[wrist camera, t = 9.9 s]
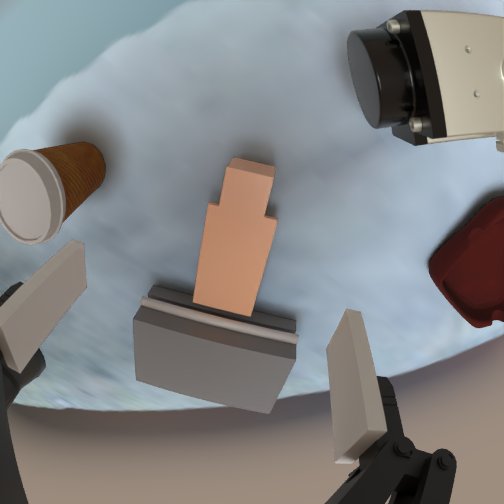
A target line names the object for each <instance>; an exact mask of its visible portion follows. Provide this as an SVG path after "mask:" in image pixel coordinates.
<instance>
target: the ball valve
mask: <svg viewBox="0 0 504 504" xmlns="http://www.w3.org/2000/svg"><path fill="white" fill-rule="evenodd" d="M347 50H348V59H349V66H350V71H351V76H352V80H353V84H354V88H355V91H356V94H357V98H358V101H359V104H360V106H361V109H362V111H363V114H364V116H365V118H366V120H367V121H368V123H369V124H370V125H371V126H372V127H373V128H375V129H380V128H386V127H392V133H393V135H394V136H396V137H398V138H400V139H402V140H404V141H406V142H408V143H410V144H412V145H414V146H417V145H424V144H432V143H440V142H448V141H456V140H465V139H475V138H485V137H496V139H498V140H500V141H496V148H497V150H498V151H500V152H504V17H499V16H492V15H485V14H476V13H466V12H453V11H431V10H404V11H402V12H401V13H399V14H397V15H396V16H394V17H393V18H391V19H389V20H387V21H386V22H385V23H383V24H382V25H380V26H379V27H377V28H376V29H366V30H356V31H352V32H350V34H349V36H348V41H347Z"/></svg>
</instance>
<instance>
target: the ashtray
mask: <svg viewBox="0 0 504 504" xmlns="http://www.w3.org/2000/svg"><path fill="white" fill-rule="evenodd" d="M429 274H430V276H431V278H432V280H433V282H434V283H435V285H436V286H437V287H438V289H439V290H440V291H441V293H442V294H443V295H444V297H445V298H446V299H447V300H448V301H449V303H450V304H451V305H452V306H453V307H454V308H455V309H456V311H457V312H458V313H459V314H460V315H461V316H462V317H463V318H464V319H465V320H466V321H468V322H469V323H470V324H471V325H472V326H474V327H475V328H483V327H487V326H491V325H492V321H494V320H499V321H502V322H504V196H500V197H497V198H495V199H493V200H491V201H490V202H488V203H487V204H486V205H484V206H483V207H482V208H481V209H480V210H479V211H478V213H477V214H476V215H475V216H474V217H473V218H472V219H471V220H470V221H469V222H468V223H467V224H466V225H465V226H464V227H463V228H462V229H461V230H460V231H458V232H457V233H456V234H455V235H454V236H453V237H451V238H450V239H449V240H448V241H447V242H446V243H445V244H444V245H443V246H442V247H441V248H440V249H439V250H438V251H437V252H436V253H435V254H434V255H433V257H432V259H431V261H430V263H429Z"/></svg>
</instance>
